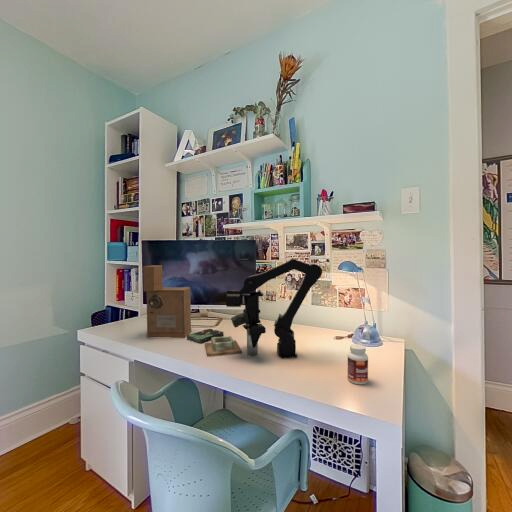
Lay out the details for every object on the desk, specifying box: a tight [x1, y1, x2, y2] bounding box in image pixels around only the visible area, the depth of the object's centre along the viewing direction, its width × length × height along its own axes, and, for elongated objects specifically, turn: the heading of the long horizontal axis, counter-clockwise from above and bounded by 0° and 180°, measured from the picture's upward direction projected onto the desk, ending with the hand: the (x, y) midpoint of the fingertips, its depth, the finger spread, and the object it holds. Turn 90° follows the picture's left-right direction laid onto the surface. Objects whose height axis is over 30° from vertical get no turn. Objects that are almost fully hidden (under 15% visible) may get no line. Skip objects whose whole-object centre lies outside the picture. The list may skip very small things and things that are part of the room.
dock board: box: [204, 335, 243, 358], centre depth 121 cm, size 14×14×4 cm
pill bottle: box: [347, 343, 369, 385], centre depth 91 cm, size 6×6×11 cm
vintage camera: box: [142, 264, 192, 339], centre depth 141 cm, size 19×14×35 cm
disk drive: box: [186, 328, 225, 345], centre depth 137 cm, size 10×3×15 cm
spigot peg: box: [246, 329, 259, 357], centre depth 115 cm, size 4×4×10 cm
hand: (252, 345), depth 115 cm, fingers open, 5 cm apart
